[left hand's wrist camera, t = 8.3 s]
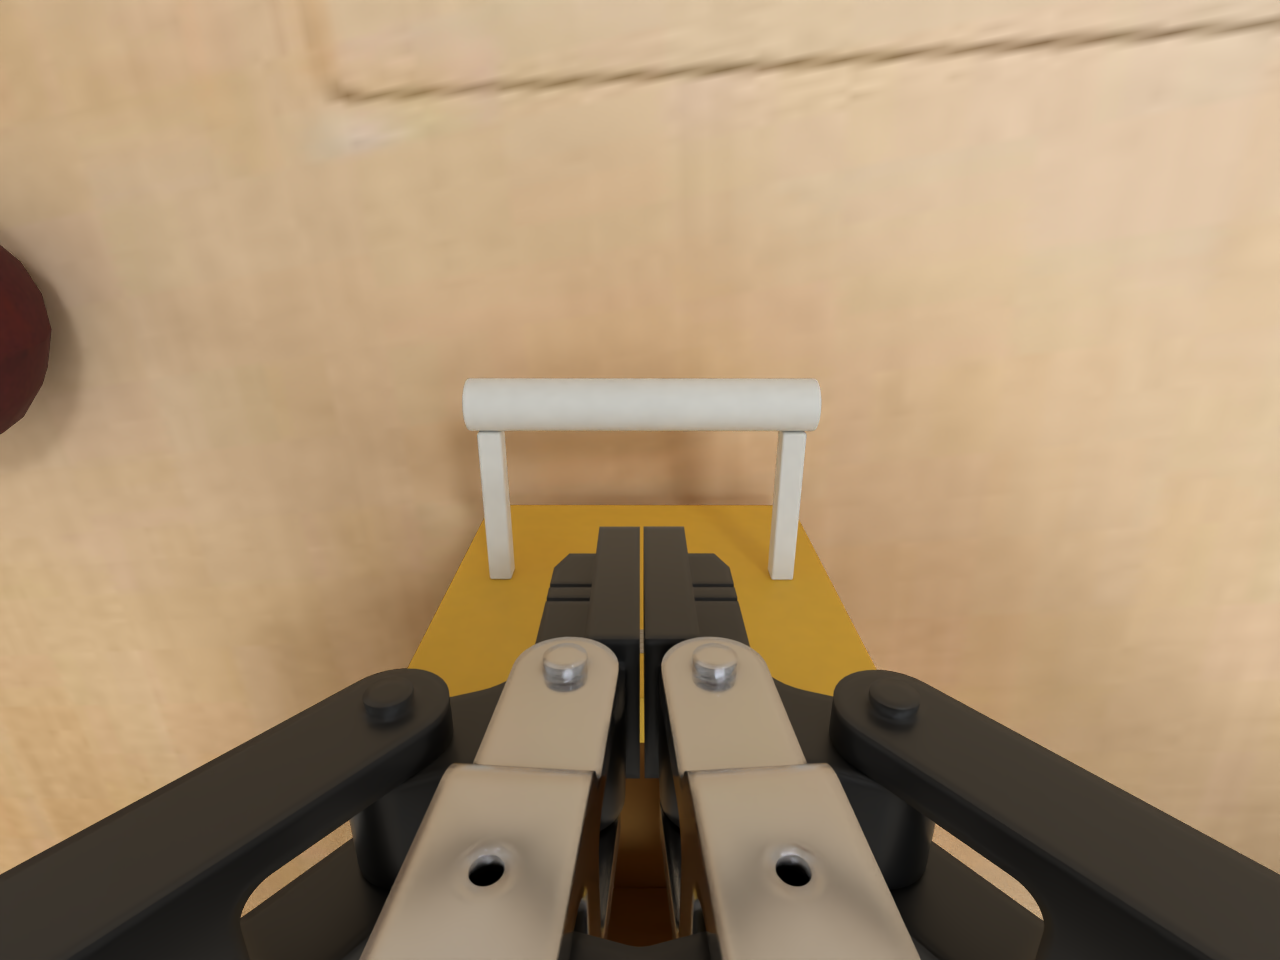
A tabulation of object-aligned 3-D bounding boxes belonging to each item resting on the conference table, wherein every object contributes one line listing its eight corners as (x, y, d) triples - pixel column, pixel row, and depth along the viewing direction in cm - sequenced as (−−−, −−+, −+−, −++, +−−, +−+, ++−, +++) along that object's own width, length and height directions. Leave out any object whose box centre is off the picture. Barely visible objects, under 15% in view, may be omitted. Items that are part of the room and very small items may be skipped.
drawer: (476, 343, 21) (349, 444, 12) (806, 343, 21) (934, 444, 12) (521, 873, 30) (468, 1174, 20) (758, 874, 30) (812, 1174, 20)
